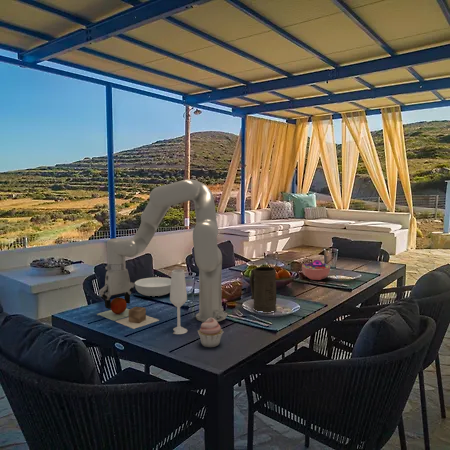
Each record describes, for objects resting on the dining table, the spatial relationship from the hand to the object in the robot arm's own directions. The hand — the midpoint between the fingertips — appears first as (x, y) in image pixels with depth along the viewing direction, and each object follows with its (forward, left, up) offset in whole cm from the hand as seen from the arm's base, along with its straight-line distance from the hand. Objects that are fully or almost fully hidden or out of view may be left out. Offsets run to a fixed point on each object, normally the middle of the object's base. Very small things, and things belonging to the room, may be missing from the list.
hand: (117, 305), depth 172 cm
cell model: (-34, -115, -5) cm, 120 cm away
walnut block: (-14, 0, -4) cm, 14 cm away
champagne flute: (-34, -5, -4) cm, 35 cm away
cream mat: (-14, 0, -4) cm, 15 cm away
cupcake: (-52, -4, -4) cm, 52 cm away
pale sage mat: (0, 0, -4) cm, 4 cm away
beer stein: (-42, -48, -4) cm, 64 cm away
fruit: (0, 0, -4) cm, 4 cm away
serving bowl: (+13, -31, -5) cm, 34 cm away
